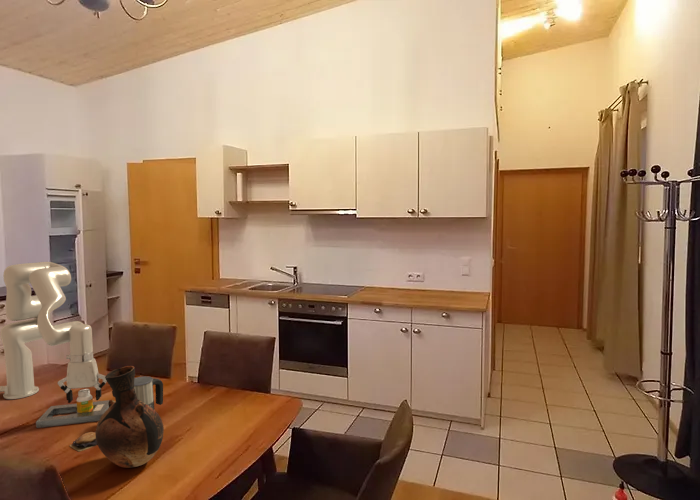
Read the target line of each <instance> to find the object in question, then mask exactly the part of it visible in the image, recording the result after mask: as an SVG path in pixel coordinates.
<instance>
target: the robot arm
mask: <svg viewBox="0 0 700 500" xmlns="http://www.w3.org/2000/svg"><path fill="white" fill-rule="evenodd" d="M2 278H3V282H4V284H5V287H6V297H5V298H6V300H5V315H6V318H7V319H8V320H9V321H11V322H12V323H8V324H6V325H4V326H3V327H2V328H1V329H0V339H1V344H2V346H3V347H2V348H3V351H4V362H5V364H4V365H5V375H6V384H5V385H0V393H3V392H4V393H3V395H2V396H3V398H4V399H6V400H17V399H22V398H27V397H31V396H33V395H35V394H36V393H38V392H39V390H40V388H39V386H36V385H35V377H34V376H35V375H34V365H33V364H34V363H33V352H32V350H31V349H30V348H29V347H28V346H27V345H26V344H28V343H29V342H31V343H32V342H35V341H39V340H42V339H43V341H44V342H45V343H46V345H49V346H53V347H54V346H59V345H63V344H67V343H69V352H70V353H69V354H67V355H66V357H65V359H66V360H69V362H67V369H66V376H65V377H64V378H62V379H60V380H58V381H57V385H58V386H59V387H60V389H61V390H62V391H64V393H65V395H66V397H65V398H66V401H67V403H68V404H72V403H71V402H72V401H73V400H74V395H73V389H74V390H75V389H87V388H95V389H96V390H95V400H96V401H100V399H101V398H102V388H103V387H104V386H105V385H106V383H108V382H107V381H106V378H105V376H106V375H104V374H101V373H99V369H98V363H97V361H96V358H94V344H93V329H92V326H91V325H90V324H87V323H86V324H85V323H83V322H82V321H79V320H78V321H77V320H74V321H70V322H65V323H59V324H55V325H52V323H51V321H50V319H51V318H50V317H51V315H50V314H51V313H52V312H53V311H55V310H57V309H58V308H60V307H61V306H62V305H64V303H65V302H66V300H67V297H66V294H65V293H64V291H63V289H62V288H61V287H68V285H70V284H71V283H72V275H71V272H70V271H69V269H68V268H67V267H65V266H63V265H62V264H58V263H55V262H52V261H41V262H30V263H29V262H28V263H19V264H18V263H17V264H12V265H9V266H7V267H6V268H5V269H4V271H3V277H2ZM32 289H33V291H34V294H35V295H33V296H32ZM99 380H102V382H101V383H100V382H99ZM65 382H66V384H65Z"/></svg>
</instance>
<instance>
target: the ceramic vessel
mask: <svg viewBox="0 0 700 500" xmlns="http://www.w3.org/2000/svg"><path fill="white" fill-rule="evenodd" d="M105 378H106V381H107V382H106V383H107V384H108V385H109V387H110V389H111V390H112V391H111V393H112V396H113V398H114V399H115V400H113V399H108V400H109V403H108V404H109V408H108V409H107V410H106V411H105V412H104V414H103V415H102V416H101V418H100V420H99V421H97V423H96V424H97V426H96V427H95V432H96V442H97V445H96V446H98V448H99V450H100V452H101V453H102V454H103V455H104V456H105V457H106V458H107V460H109V461H110V462H111V463H112V464H114V465H116V466H118V467H119V468H120V467H121V468H130V469H131V468H136V467H139V466H140V467H141V466H142V465H145V464H147V463H148V462H149V461H150V460H151V459H153V458H154V456H155V455H156V454H157V452H158V451H159V449H160V447H161V445H162V442H163V439H164V423H163V420H162V417H161V416H160V415H159V413H158V412H157V411H156V410H155V408H154V409H153V408H151V407H150V406H148V405H147V404H145V403H144V402H142V401H140V400H138V399H137V395H136V392H135V388H134V378H136V369H135V366H133V365H127V366H123V367H119V368H115V369H113V370H111V371H109V372H108V373H107V374H106V375H105Z"/></svg>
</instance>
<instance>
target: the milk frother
mask: <svg viewBox="0 0 700 500" xmlns="http://www.w3.org/2000/svg"><path fill="white" fill-rule="evenodd" d="M154 386H155V388H154ZM134 388H135V392H136V395H137V399H138V400H140V401H142V402H144V403H145V404H147V405H148V406H150V407H151V408H153V409H154V410H155V403H156V405H158V406H159V405H163V403H164V383H163V381H162V380H161V379H159V378H156V377H155V378H154V377H151V376H146V375H145V376H139V377H134ZM154 389H155V390H154ZM154 391H155V392H154ZM154 393H155V395H154ZM154 397H155V399H154Z"/></svg>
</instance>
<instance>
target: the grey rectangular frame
mask: <svg viewBox="0 0 700 500" xmlns="http://www.w3.org/2000/svg"><path fill="white" fill-rule="evenodd" d="M109 400H110V399H107V400H96V401H93V411H92V412H86V413H77V403H68V404H61V405H60V404H59V405H58V404H57V405H50V407H48V408H47V409H46V410H45V412H44V413H43V414H42V415H41V416H40V417H39V418H38V419H37V420H36V421H35V426H36V429H40V428H49V427H58V426H66V425H75V424H84V423H86V424H87V423H94V422H99V420H100V418H101V416H102V415H103V414H104V412H105V411H106V410H107V409H108V408H109V404H108V403H109ZM65 414H66V415H65ZM54 415H55V416H54ZM56 415H57V416H56Z"/></svg>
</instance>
